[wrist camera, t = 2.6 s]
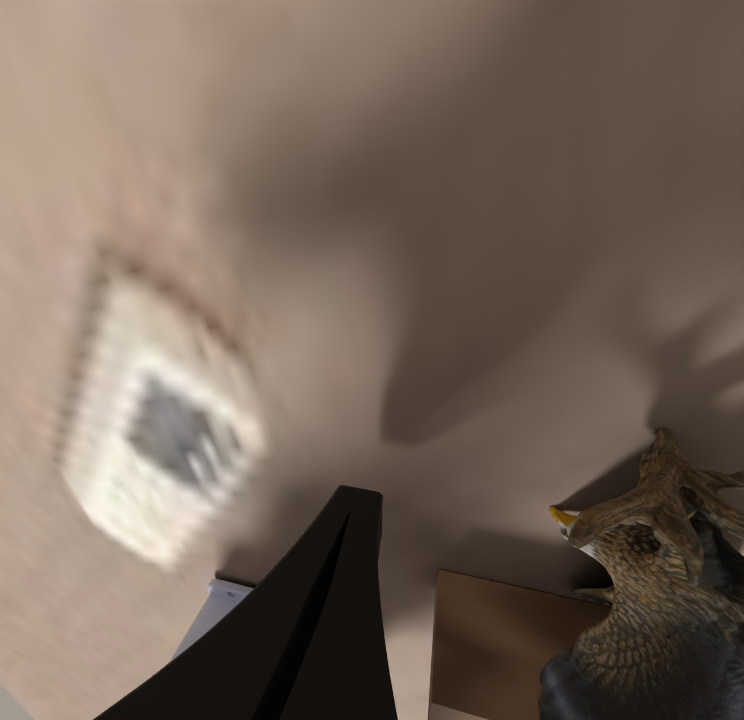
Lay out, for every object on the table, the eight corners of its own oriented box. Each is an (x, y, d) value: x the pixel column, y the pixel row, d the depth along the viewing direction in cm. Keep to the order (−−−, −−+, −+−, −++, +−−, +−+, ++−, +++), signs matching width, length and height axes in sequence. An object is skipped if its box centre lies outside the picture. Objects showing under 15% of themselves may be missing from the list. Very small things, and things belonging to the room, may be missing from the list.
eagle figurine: (460, 447, 11) (479, 662, 13) (798, 716, 4) (715, 1060, 6) (641, 388, 13) (630, 583, 15) (1065, 501, 6) (928, 819, 8)
